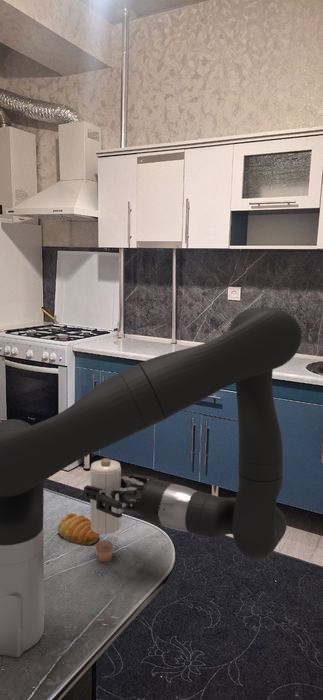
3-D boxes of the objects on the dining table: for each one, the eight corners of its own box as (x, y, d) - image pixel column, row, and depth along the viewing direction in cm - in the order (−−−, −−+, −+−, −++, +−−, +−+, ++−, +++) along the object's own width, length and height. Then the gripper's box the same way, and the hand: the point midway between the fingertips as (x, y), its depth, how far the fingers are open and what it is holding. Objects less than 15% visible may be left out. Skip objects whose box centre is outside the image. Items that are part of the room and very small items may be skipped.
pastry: (107, 538, 106) (107, 521, 105) (83, 552, 100) (83, 534, 100) (77, 523, 111) (77, 507, 111) (53, 535, 106) (53, 519, 106)
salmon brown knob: (110, 563, 96) (110, 550, 96) (93, 561, 97) (93, 548, 96) (114, 553, 99) (114, 541, 99) (98, 551, 100) (98, 539, 100)
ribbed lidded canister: (116, 535, 94) (116, 466, 92) (87, 532, 95) (87, 464, 93) (123, 520, 99) (123, 455, 97) (96, 518, 100) (95, 453, 98)
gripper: (189, 472, 95) (115, 455, 103) (151, 501, 82) (71, 479, 90) (188, 509, 96) (115, 489, 104) (150, 543, 83) (71, 518, 91)
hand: (95, 485), depth 97 cm, fingers closed on ribbed lidded canister, 5 cm apart
